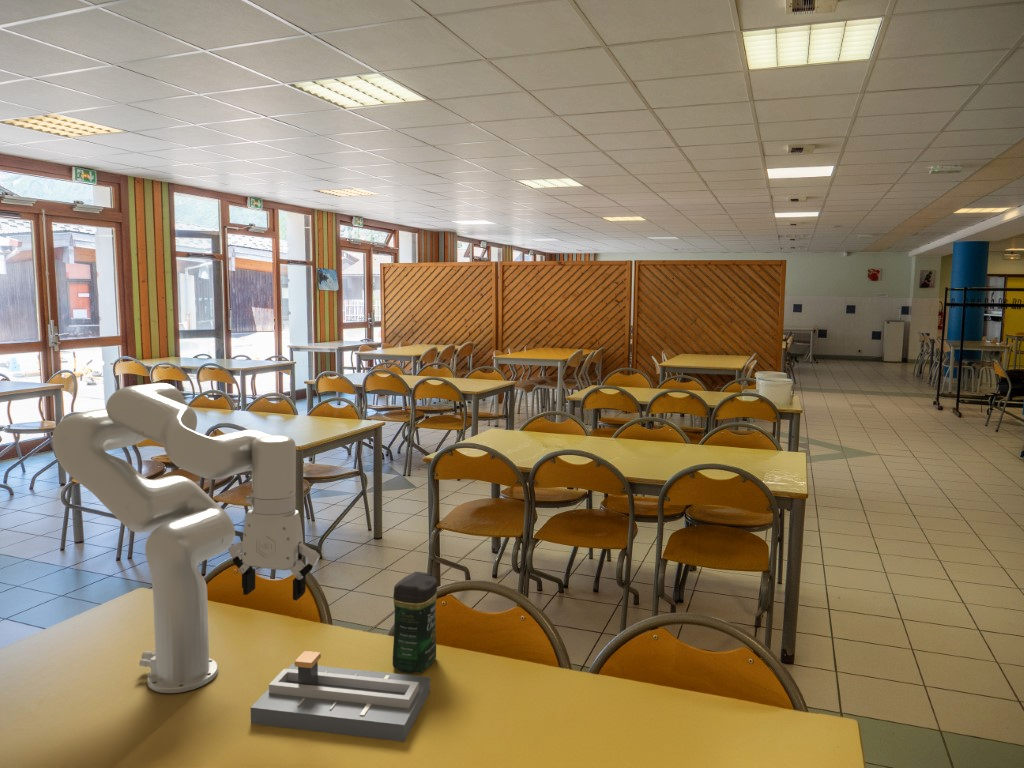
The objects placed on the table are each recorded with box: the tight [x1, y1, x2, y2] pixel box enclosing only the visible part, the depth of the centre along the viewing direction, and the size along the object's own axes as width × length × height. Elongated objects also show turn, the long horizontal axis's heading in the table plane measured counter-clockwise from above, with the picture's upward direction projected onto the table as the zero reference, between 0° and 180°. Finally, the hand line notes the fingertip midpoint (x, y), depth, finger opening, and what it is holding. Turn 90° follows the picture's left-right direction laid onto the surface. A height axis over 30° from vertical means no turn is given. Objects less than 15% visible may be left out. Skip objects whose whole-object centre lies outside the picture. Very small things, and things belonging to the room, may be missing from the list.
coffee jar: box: [392, 571, 438, 675], centre depth 146 cm, size 10×8×19 cm
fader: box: [294, 650, 322, 686], centre depth 131 cm, size 3×4×6 cm
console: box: [250, 662, 431, 743], centre depth 131 cm, size 28×16×5 cm, turn 81°
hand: (273, 594), depth 131 cm, fingers open, 9 cm apart
